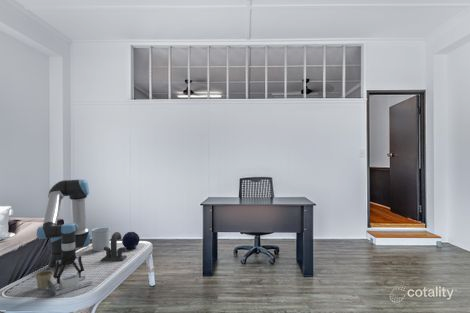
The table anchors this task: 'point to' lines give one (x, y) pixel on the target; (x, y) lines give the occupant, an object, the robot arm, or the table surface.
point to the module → (69, 281)
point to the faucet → (114, 250)
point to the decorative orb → (130, 240)
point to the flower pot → (43, 279)
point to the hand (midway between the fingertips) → (69, 285)
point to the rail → (53, 291)
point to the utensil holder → (100, 238)
